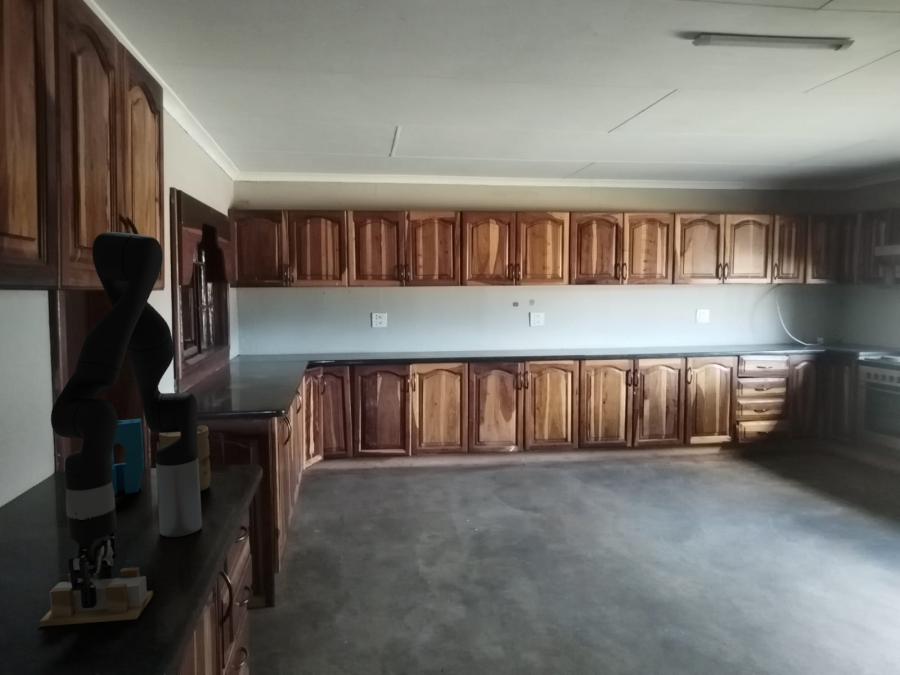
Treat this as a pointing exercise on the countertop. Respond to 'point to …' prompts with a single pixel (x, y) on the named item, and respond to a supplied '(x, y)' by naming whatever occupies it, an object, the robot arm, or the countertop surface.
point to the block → (128, 457)
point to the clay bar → (134, 592)
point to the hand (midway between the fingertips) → (98, 596)
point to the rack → (114, 611)
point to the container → (202, 452)
